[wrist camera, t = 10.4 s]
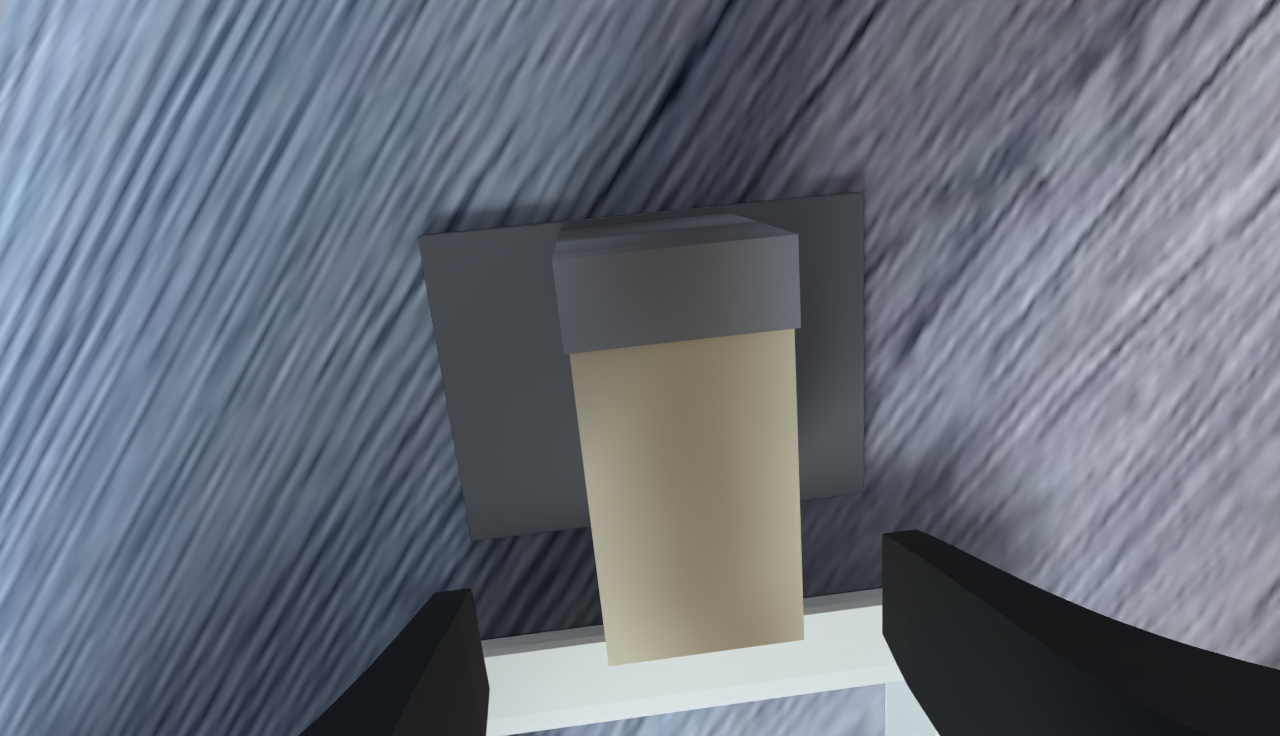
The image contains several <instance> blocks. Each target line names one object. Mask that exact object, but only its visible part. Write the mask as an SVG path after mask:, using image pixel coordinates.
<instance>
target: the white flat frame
mask: <svg viewBox="0 0 1280 736" xmlns="http://www.w3.org/2000/svg"><path fill="white" fill-rule="evenodd" d="M803 615H804V640H799V641H791V642H784V643H777V644H769V645H762V646H755V647H747V648H740V649H733V650H726V651H718V652H711V653H704V654H696V655H689V656H682V657H674V658H667V659H660V660H652V661H645V662H638V663H630V664H623V665H616V666H609V664H608V657H607V649H606V641H605V633H604V625H597V626H589V627H581V628H574V629H566V630H558V631H551V632H543V633H536V634H528V635H520V636H513V637H505V638H497V639H490V640H482V641H481V644H482V649H483V655H484V660H485V666H486V671H487V676H488V682H489V687H490V692H489V705H488V719H487V730H486V736H506V735H513V734H520V733H527V732H534V731H542V730H549V729H556V728H563V727H570V726H578V725H585V724H592V723H599V722H606V721H614V720H621V719H628V718H635V717H643V716H650V715H657V714H664V713H671V712H679V711H686V710H693V709H700V708H707V707H715V706H722V705H729V704H736V703H743V702H751V701H758V700H765V699H772V698H779V697H787V696H794V695H801V694H808V693H816V692H823V691H830V690H837V689H844V688H852V687H859V686H866V685H873V684H880V683H885V736H940V735H939V734H938V732H937V731H936V729H935V728H934V726H933V724H932V723H931V721H930V720H929V718H928V717H927V715H926V714H925V712H924V711H923V709H922V708H921V706H920V704H919V703H918V701H917V700H916V698H915V697H914V695H913V693H912V692H911V690H910V689H909V687H908V686H907V684H906V682H905V680H904V678H903V676H902V674H901V672H900V670H899V668H898V666H897V664H896V662H895V660H894V657H893V655H892V653H891V651H890V649H889V647H888V645H887V642H886V640H885V638H884V636H883V634H882V588H879V589H872V590H864V591H856V592H849V593H841V594H833V595H826V596H818V597H810V598H803Z"/></svg>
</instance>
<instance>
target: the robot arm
mask: <svg viewBox="0 0 1280 736" xmlns="http://www.w3.org/2000/svg"><path fill="white" fill-rule="evenodd" d="M882 634H883V636H884V638H885V640H886V642H887V645H888V647H889V649H890V651H891V653H892V655H893V657H894V660H895V662H896V664H897V666H898V668H899V670H900V672H901V674H902V676H903V678H904V680H905V682H906V684H907V686H908V687H909V689H910V690H911V692H912V693H913V695H914V697H915V698H916V700H917V701H918V703H919V704H920V706H921V708H922V709H923V711H924V712H925V714H926V715H927V717H928V718H929V720H930V721H931V723H932V724H933V726H934V728H935V729H936V731H937V732H938V734H939V735H940V736H1280V670H1278V669H1274V668H1270V667H1266V666H1262V665H1258V664H1254V663H1250V662H1246V661H1242V660H1239V659H1235V658H1232V657H1228V656H1225V655H1221V654H1218V653H1214V652H1211V651H1207V650H1204V649H1200V648H1197V647H1193V646H1190V645H1187V644H1184V643H1181V642H1177V641H1174V640H1171V639H1168V638H1165V637H1162V636H1159V635H1156V634H1153V633H1151V632H1148V631H1145V630H1142V629H1139V628H1136V627H1134V626H1131V625H1128V624H1125V623H1122V622H1120V621H1117V620H1114V619H1111V618H1109V617H1106V616H1104V615H1101V614H1099V613H1096V612H1094V611H1091V610H1089V609H1086V608H1084V607H1082V606H1079V605H1077V604H1075V603H1072V602H1070V601H1068V600H1065V599H1063V598H1061V597H1058V596H1056V595H1054V594H1051V593H1049V592H1047V591H1045V590H1043V589H1040V588H1038V587H1036V586H1034V585H1032V584H1029V583H1027V582H1025V581H1023V580H1021V579H1019V578H1017V577H1015V576H1013V575H1011V574H1009V573H1006V572H1004V571H1002V570H1000V569H998V568H996V567H994V566H992V565H990V564H988V563H986V562H984V561H982V560H980V559H978V558H976V557H974V556H972V555H970V554H968V553H966V552H964V551H962V550H960V549H958V548H956V547H954V546H952V545H950V544H948V543H946V542H944V541H942V540H940V539H937V538H935V537H933V536H931V535H929V534H926V533H924V532H921V531H919V530H909V531H901V532H893V533H886V534H882ZM489 692H490V687H489V682H488V676H487V671H486V666H485V660H484V655H483V649H482V644H481V639H480V633H479V628H478V622H477V617H476V612H475V606H474V601H473V596H472V590H471V588H469V589H461V590H454V591H446V592H439V593H435V594H434V595H433V596H432V597H431V598H430V599H429V600H428V601H427V602H426V604H425V605H424V606H423V607H422V608H421V609H420V610H419V612H418V613H417V614H416V615H415V616H414V617H413V619H412V620H411V621H410V622H409V623H408V624H407V625H406V627H405V628H404V629H403V630H402V631H401V632H400V633H399V635H398V636H397V637H396V638H395V639H394V640H393V641H392V642H391V644H390V645H389V646H388V647H387V648H386V649H385V650H384V651H383V652H382V654H381V655H380V656H379V657H378V658H377V659H376V660H375V661H374V662H373V664H372V665H371V666H370V667H369V668H368V669H367V670H366V671H365V672H364V673H363V674H362V675H361V676H360V677H359V678H358V679H357V680H356V681H355V682H354V683H353V684H352V685H351V686H350V687H349V688H348V689H347V690H346V691H345V692H344V693H343V694H342V695H341V696H340V697H339V698H338V699H337V700H336V701H335V702H334V703H333V704H332V705H331V706H330V707H329V708H328V709H327V710H326V711H325V712H324V713H323V714H322V715H321V716H320V717H319V718H318V719H317V720H315V721H314V722H313V723H312V724H311V725H310V726H309V727H308V728H307V729H305V730H304V731H303V732H302V733H301V734H300V735H299V736H486V730H487V719H488V705H489Z"/></svg>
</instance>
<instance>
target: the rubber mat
mask: <svg viewBox="0 0 1280 736" xmlns="http://www.w3.org/2000/svg"><path fill="white" fill-rule="evenodd" d="M726 213H732V214H735V215H738V216H742V217H745V218H748V219H751V220H754V221H758V222H761V223H764V224H767V225H770V226H774V227H777V228H780V229H783V230H786V231H790V232H793V233H796V234H798V241H799V276H800V310H801V328H796V329H794V330H795V361H796V393H797V425H798V457H799V488H800V501H802V500H810V499H819V498H827V497H835V496H843V495H851V494H859V493H864V193H860V192H852V193H841V194H831V195H821V196H811V197H801V198H791V199H780V200H770V201H760V202H750V203H740V204H730V205H720V206H709V207H699V208H689V209H679V210H669V211H659V212H648V213H638V214H628V215H618V216H608V217H598V218H588V219H577V220H567V221H557V222H547V223H537V224H527V225H517V226H506V227H496V228H486V229H476V230H466V231H456V232H445V233H435V234H425V235H421V236H418V243H419V248H420V254H421V260H422V265H423V271H424V277H425V282H426V288H427V293H428V299H429V305H430V310H431V316H432V322H433V327H434V333H435V338H436V344H437V350H438V355H439V361H440V367H441V372H442V378H443V383H444V389H445V395H446V400H447V406H448V412H449V417H450V423H451V428H452V434H453V440H454V445H455V451H456V457H457V462H458V468H459V473H460V479H461V485H462V490H463V496H464V502H465V507H466V513H467V518H468V524H469V530H470V535H471V541H477V540H485V539H494V538H502V537H510V536H518V535H526V534H534V533H542V532H550V531H559V530H567V529H575V528H583V527H591V521H590V513H589V505H588V497H587V489H586V481H585V474H584V466H583V458H582V450H581V442H580V434H579V426H578V418H577V410H576V402H575V394H574V386H573V378H572V370H571V362H570V354H564V351H563V343H562V335H561V327H560V319H559V312H558V304H557V296H556V288H555V280H554V273H553V265H552V258H553V254H554V250H555V247H556V243H557V239H558V236H559V232H560V230H569V229H579V228H588V227H598V226H608V225H618V224H628V223H638V222H647V221H657V220H667V219H677V218H687V217H696V216H706V215H716V214H726Z"/></svg>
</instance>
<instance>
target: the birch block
mask: <svg viewBox="0 0 1280 736" xmlns="http://www.w3.org/2000/svg"><path fill="white" fill-rule="evenodd" d="M552 265H553V273H554V280H555V288H556V296H557V304H558V312H559V319H560V327H561V335H562V343H563V351H564V354H570V362H571V370H572V378H573V386H574V394H575V402H576V410H577V418H578V426H579V434H580V442H581V450H582V458H583V466H584V474H585V481H586V489H587V497H588V505H589V513H590V521H591V529H592V537H593V545H594V553H595V561H596V569H597V577H598V585H599V593H600V601H601V609H602V617H603V625H604V633H605V641H606V649H607V657H608V664H609V666H616V665H623V664H630V663H638V662H645V661H652V660H660V659H667V658H674V657H682V656H689V655H696V654H704V653H711V652H718V651H726V650H733V649H740V648H747V647H755V646H762V645H769V644H777V643H784V642H791V641H799V640H804V615H803V583H802V552H801V520H800V488H799V457H798V425H797V393H796V361H795V330H794V329H796V328H801V310H800V276H799V241H798V234H796V233H793V232H790V231H786V230H783V229H780V228H777V227H774V226H770V225H767V224H764V223H761V222H758V221H754V220H751V219H748V218H745V217H742V216H738V215H735V214H732V213H726V214H716V215H706V216H696V217H687V218H677V219H667V220H657V221H647V222H638V223H628V224H618V225H608V226H598V227H588V228H579V229H569V230H560V232H559V236H558V239H557V243H556V247H555V250H554V254H553V258H552Z"/></svg>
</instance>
